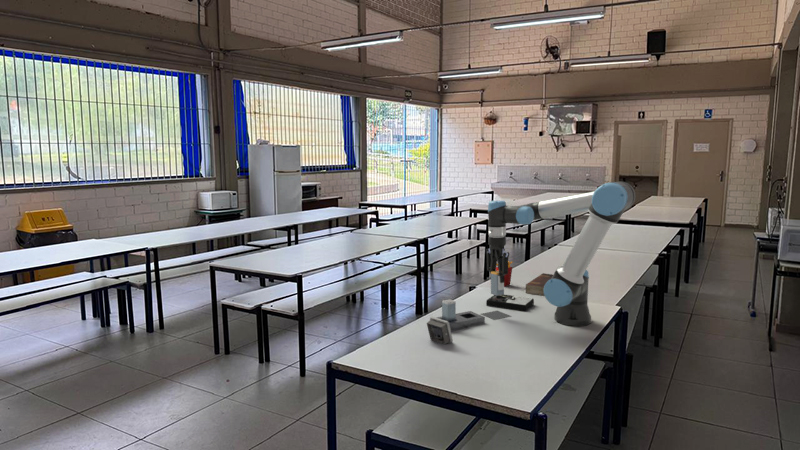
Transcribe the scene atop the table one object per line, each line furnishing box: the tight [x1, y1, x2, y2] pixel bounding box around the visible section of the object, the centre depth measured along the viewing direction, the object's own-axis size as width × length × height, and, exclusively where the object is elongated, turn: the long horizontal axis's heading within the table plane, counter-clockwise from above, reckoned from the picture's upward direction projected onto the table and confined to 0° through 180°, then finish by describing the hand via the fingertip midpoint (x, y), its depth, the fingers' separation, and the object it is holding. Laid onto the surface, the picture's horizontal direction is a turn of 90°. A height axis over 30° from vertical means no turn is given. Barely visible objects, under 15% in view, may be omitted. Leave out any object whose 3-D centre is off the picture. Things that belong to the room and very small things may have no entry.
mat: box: [480, 310, 512, 321], centre depth 238 cm, size 10×10×1 cm
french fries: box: [496, 260, 514, 288], centre depth 291 cm, size 9×8×15 cm
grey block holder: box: [435, 299, 486, 332], centre depth 226 cm, size 10×20×11 cm, turn 119°
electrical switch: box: [426, 316, 454, 345], centre depth 206 cm, size 9×5×9 cm, turn 44°
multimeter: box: [485, 293, 535, 312], centre depth 253 cm, size 13×19×5 cm
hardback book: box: [525, 272, 553, 297], centre depth 282 cm, size 29×19×5 cm, turn 148°
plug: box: [490, 271, 505, 296], centre depth 235 cm, size 4×4×10 cm
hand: (497, 288), depth 236 cm, fingers closed on plug, 4 cm apart
